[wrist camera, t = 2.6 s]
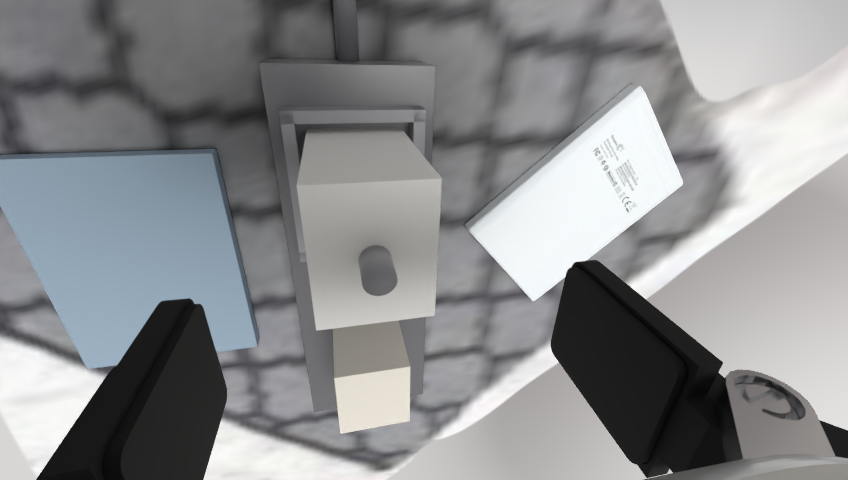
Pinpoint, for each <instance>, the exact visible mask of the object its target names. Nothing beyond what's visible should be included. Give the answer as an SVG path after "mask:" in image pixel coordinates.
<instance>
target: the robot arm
mask: <svg viewBox="0 0 848 480" xmlns="http://www.w3.org/2000/svg"><path fill="white" fill-rule="evenodd" d="M551 349H552V352H553V354H554V356H555V357H556V359H557V360H558V361H559V363H560V364H561V365H562V367H563V368H564V370H565V371H566V373H567V374H568V375H569V377H570V378H571V380H572V381H573V382H574V384H575V385H576V387H577V388H578V389H579V391H580V392H581V394H582V395H583V396H584V398H585V399H586V401H587V402H588V403H589V405H590V406H591V407H592V409H593V410H594V412H595V413H596V415H597V416H598V417H599V419H600V420H601V422H602V423H603V424H604V426H605V427H606V429H607V430H608V431H609V433H610V434H611V436H612V437H613V438H614V440H615V441H616V443H617V444H618V445H619V447H620V448H621V450H622V451H623V452H624V454H625V455H626V457H627V458H628V459H629V460H630V461H631V462H632V463H634V464H637V465H638V466H639V468H640V469H641V470H642V472H643V473H644V474H645V476H646V477H647V478H649V477H654V476H658V475H662V474H666V473H667V472H668V470H669V468H670V469H671V471H672V472H673V473H672V474H668V475H663V476H658V477H654V478H649V479H645V480H848V431H847V430H845V429H842V428H839V427H836V426H833V425H831V424H828V423H825V422H823V421H820V420H819V419H818V417H817V415H816V413H815V411H814V409H813V408H812V406H811V405H810V403H809V402H808V401H807V400H806V399H805V398H804V397H803V396H802V395H801V394H800V393H798V392H797V391H796V390H794V389H793V388H791V387H790V386H788V385H787V384H785V383H783V382H781V381H779V380H777V379H775V378H773V377H770V376H768V375H765V374H763V373H759V372H755V371H750V370H735V371H731V372H730V373H729V374H728V375H727V376H726V377H725V378H724V377H723V376H722V375H720V374H719V373H718V372H719V369H720V368H721V366H722V364H723V362H722V361H720V360H719V359H718V358H717V357H715V356H714V355H713V354H712V353H711V352H709V351H708V350H707V349H706V348H704V347H703V346H702V345H701V344H700V343H698V342H697V341H696V340H695V339H693V338H692V337H691V336H689V335H688V334H687V333H686V332H685V331H684V330H682V329H681V328H680V327H679V326H677V325H676V324H675V323H674V322H673V321H671V320H670V319H669V318H668V317H666V316H665V315H664V314H663V313H661V312H660V311H659V310H658V309H656V308H655V307H654V306H653V305H652V304H650V303H649V302H648V301H647V300H646V299H644V298H643V297H642V296H641V295H639V294H638V293H637V292H636V291H634V290H633V289H632V288H631V287H630V286H628V285H627V284H626V283H625V282H623V281H622V280H621V279H620V278H619V277H617V276H616V275H615V274H614V273H612V272H611V271H610V270H609V269H607V268H606V267H605V266H604V265H603V264H601V263H600V262H599V261H597V260H590V261H580V262H575V263H574V264H573V265H572V267H571V268H569V269H568V270H567V273H566V277H565V282H564V286H563V291H562V295H561V299H560V304H559V308H558V313H557V317H556V322H555V326H554V330H553V335H552V339H551ZM226 400H227V388H226V384H225V380H224V377H223V373H222V370H221V367H220V363H219V360H218V356H217V353H216V349H215V346H214V343H213V339H212V336H211V332H210V329H209V326H208V322H207V319H206V315H205V312H204V309H203V306H202V305H201V304H194V302H193V300H192V299H190V298H187V299H176V300H166V301H161V302H160V303H159V304H158V305H157V307H156V308H155V310H154V311H153V313H152V314H151V316H150V317H149V318H148V320H147V321H146V323H145V324H144V326H143V327H142V329H141V330H140V332H139V333H138V335H137V336H136V338H135V339H134V341H133V342H132V344H131V345H130V347H129V348H128V350H127V351H126V353H125V354H124V356H123V357H122V359H121V360H120V362H119V363H118V365H117V366H116V367H114V368H113V369H112V370H111V371H110V372H109V374H108V375H107V376H106V378H105V379H104V381H103V382H102V384H101V385H100V387H99V388H98V390H97V391H96V393H95V394H94V395H93V397H92V398H91V400H90V401H89V403H88V404H87V406H86V407H85V409H84V410H83V412H82V413H81V415H80V416H79V418H78V419H77V420H76V422H75V423H74V425H73V426H72V428H71V429H70V431H69V432H68V434H67V435H66V437H65V438H64V440H63V441H62V443H61V444H60V445H59V447H58V448H57V450H56V451H55V453H54V454H53V456H52V457H51V459H50V460H49V462H48V463H47V465H46V466H45V468H44V469H43V470H42V472H41V473H40V475H39V476H38V478H37V479H36V480H203V478H204V475H205V472H206V468H207V465H208V462H209V458H210V455H211V451H212V448H213V445H214V441H215V438H216V435H217V431H218V428H219V424H220V421H221V418H222V414H223V411H224V408H225V404H226Z"/></svg>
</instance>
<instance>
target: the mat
mask: <svg viewBox="0 0 848 480" xmlns="http://www.w3.org/2000/svg"><path fill="white" fill-rule="evenodd" d="M0 207H1V209H2V210H3V212H4V214H5V216H6V218H7V220H8V222H9V224H10V225H11V227H12V229H13V231H14V233H15V235H16V237H17V238H18V240H19V242H20V244H21V246H22V248H23V250H24V252H25V253H26V255H27V257H28V259H29V261H30V263H31V265H32V266H33V268H34V270H35V272H36V274H37V276H38V278H39V280H40V281H41V283H42V285H43V287H44V289H45V291H46V293H47V294H48V296H49V298H50V300H51V302H52V304H53V306H54V308H55V309H56V311H57V313H58V315H59V317H60V319H61V321H62V323H63V324H64V326H65V328H66V330H67V332H68V334H69V336H70V337H71V339H72V341H73V343H74V345H75V347H76V349H77V351H78V352H79V354H80V356H81V358H82V360H83V362H84V364H85V365H86V367H87V369H90V368H98V367H106V366H113V365H118V363H119V362H120V360H121V359H122V357H123V356H124V354H125V353H126V351H127V350H128V348H129V347H130V345H131V344H132V342H133V341H134V339H135V338H136V336H137V335H138V333H139V332H140V330H141V329H142V327H143V326H144V324H145V323H146V321H147V320H148V318H149V317H150V316H151V314H152V313H153V311H154V310H155V308H156V307H157V305H158V304H159V303H160V302H161V301H166V300H176V299H187V298H190V299H192V300H193V302H194V304H201V305H202V306H203V309H204V312H205V315H206V319H207V322H208V326H209V329H210V332H211V336H212V339H213V343H214V346H215V349H216V352H220V351H228V350H236V349H243V348H251V347H258V342H259V334H258V329H257V325H256V321H255V316H254V312H253V308H252V303H251V299H250V294H249V290H248V286H247V281H246V277H245V273H244V268H243V264H242V259H241V255H240V251H239V246H238V242H237V238H236V233H235V229H234V225H233V220H232V216H231V211H230V207H229V203H228V198H227V194H226V190H225V185H224V181H223V176H222V172H221V168H220V163H219V159H218V155H217V150H216V149H192V150H156V151H120V152H84V153H47V154H11V155H0Z"/></svg>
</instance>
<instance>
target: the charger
mask: <svg viewBox="0 0 848 480" xmlns="http://www.w3.org/2000/svg"><path fill="white" fill-rule="evenodd" d="M441 188H442V178H441V177H440V176H439V174H438V173H437V172H436V171H435V169H434V168H433V167H432V166H431V164H430V163H429V162H428V161H427V159H426V158H425V157H424V156H423V155H422V153H421V152H420V151H419V150H418V148H417V147H416V146H415V145H414V143H413V142H412V141H411V140H410V138H409V137H408V136H407V135H406V133H405V132H404V131H403V130H402V129H401V127H379V128H324V129H307V131H306V136H305V142H304V148H303V153H302V159H301V164H300V170H299V175H298V181H297V192H298V200H299V207H300V215H301V222H302V229H303V237H304V244H305V252H306V259H307V266H308V274H309V281H310V289H311V296H312V303H313V311H314V318H315V326H316V331H318V330H326V329H334V328H342V327H350V326H358V325H366V324H373V323H381V322H389V321H397V320H405V319H413V318H421V317H429V316H435V300H436V281H437V262H438V244H439V225H440V207H441Z"/></svg>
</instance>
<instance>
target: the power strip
mask: <svg viewBox="0 0 848 480" xmlns="http://www.w3.org/2000/svg"><path fill="white" fill-rule="evenodd" d="M333 13H334V27H335V41H336V55H337V60H318V59H266V60H264V61H262V62H260V63H259V68H260V74H261V81H262V87H263V93H264V100H265V106H266V112H267V118H268V125H269V131H270V137H271V144H272V150H273V156H274V162H275V169H276V175H277V181H278V188H279V194H280V200H281V206H282V213H283V219H284V225H285V232H286V238H287V244H288V250H289V257H290V263H291V269H292V276H293V282H294V288H295V294H296V301H297V307H298V313H299V320H300V326H301V332H302V338H303V345H304V351H305V357H306V364H307V370H308V376H309V382H310V389H311V395H312V401H313V408H314V412H318V411H324V410H330V409H336V408H338V416H339V424H340V433H347V432H352V431H358V430H363V429H369V428H374V427H379V426H385V425H390V424H396V423H401V422H407V421H410V396H412V395H418V394H423V369H424V343H425V318H426V317H421V318H413V319H405V320H397V321H389V322H381V323H373V324H366V325H358V326H350V327H342V328H334V329H326V330H318V331H316V326H315V318H314V311H313V303H312V296H311V289H310V281H309V274H308V266H307V259H306V252H305V244H304V237H303V229H302V222H301V215H300V207H299V200H298V192H297V181H298V175H299V170H300V164H301V159H302V153H303V148H304V142H305V136H306V131H307V129H324V128H379V127H401V129H402V130H403V131H404V132H405V133H406V135H407V136H408V137H409V138H410V140H411V141H412V142H413V143H414V145H415V146H416V147H417V148H418V150H419V151H420V152H421V153H422V155H423V156H424V157H425V158H426V159H427V161H428V162H429V163H430V164H431V166H432V141H433V116H434V90H435V66H434V65H431V64H427V63H424V62H420V61H371V60H359V49H358V28H357V6H356V0H333Z"/></svg>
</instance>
